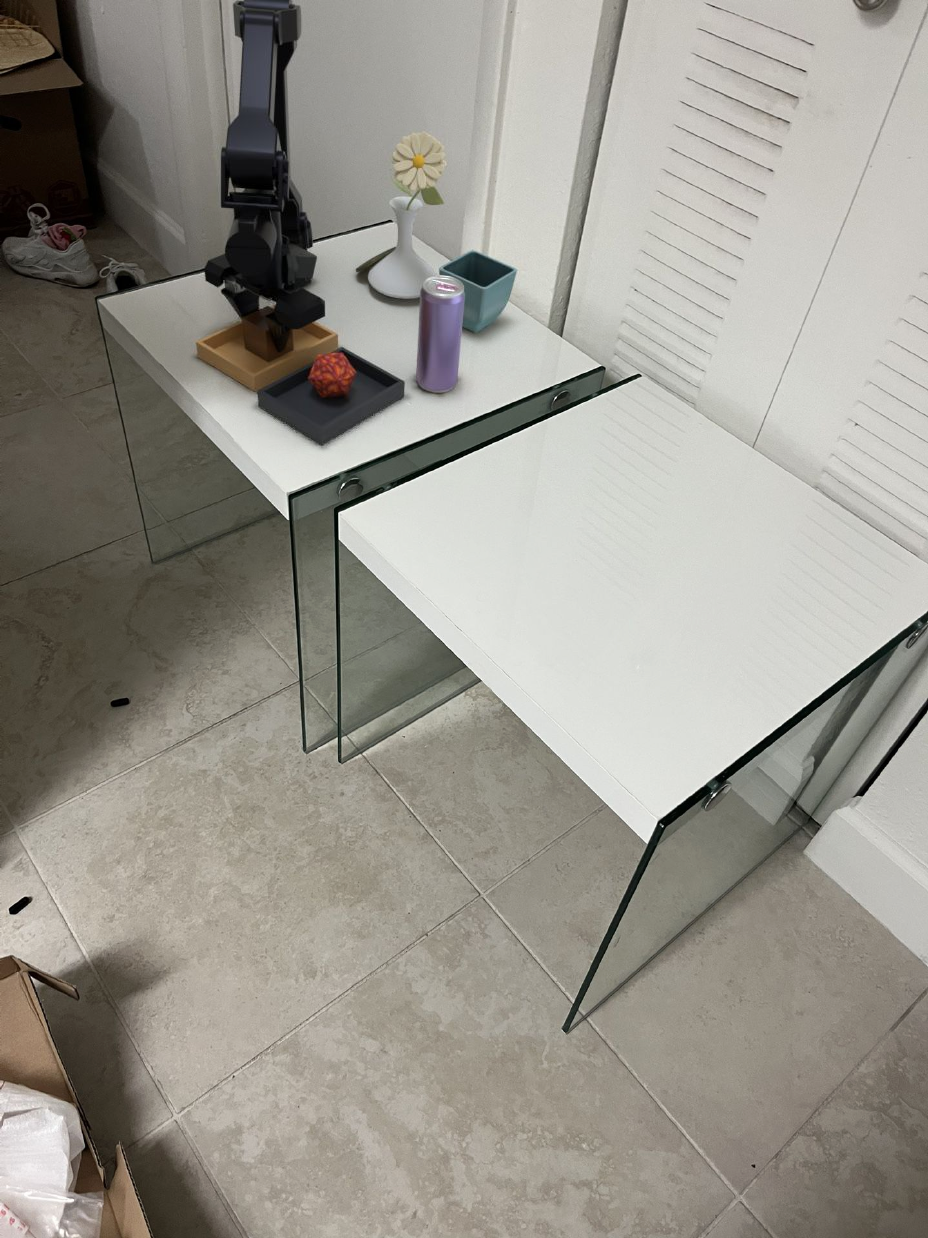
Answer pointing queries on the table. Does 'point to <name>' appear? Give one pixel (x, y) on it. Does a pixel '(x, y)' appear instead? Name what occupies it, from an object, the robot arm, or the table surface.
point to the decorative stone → (332, 375)
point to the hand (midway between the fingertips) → (268, 343)
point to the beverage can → (439, 333)
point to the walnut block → (262, 336)
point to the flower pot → (481, 287)
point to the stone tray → (330, 399)
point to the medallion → (374, 260)
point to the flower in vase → (410, 215)
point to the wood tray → (256, 372)
